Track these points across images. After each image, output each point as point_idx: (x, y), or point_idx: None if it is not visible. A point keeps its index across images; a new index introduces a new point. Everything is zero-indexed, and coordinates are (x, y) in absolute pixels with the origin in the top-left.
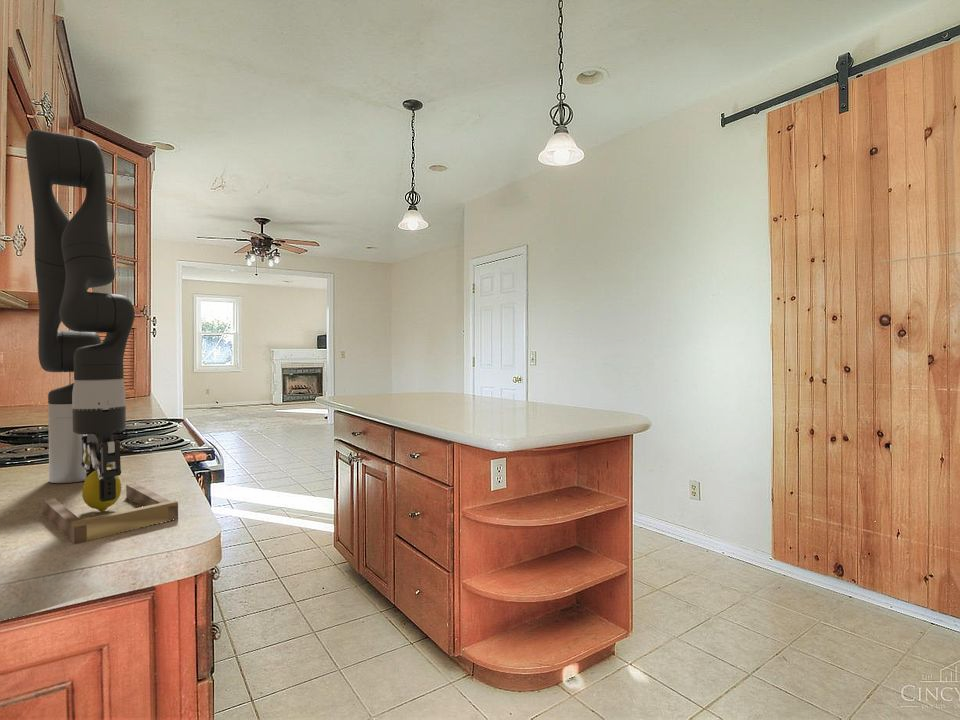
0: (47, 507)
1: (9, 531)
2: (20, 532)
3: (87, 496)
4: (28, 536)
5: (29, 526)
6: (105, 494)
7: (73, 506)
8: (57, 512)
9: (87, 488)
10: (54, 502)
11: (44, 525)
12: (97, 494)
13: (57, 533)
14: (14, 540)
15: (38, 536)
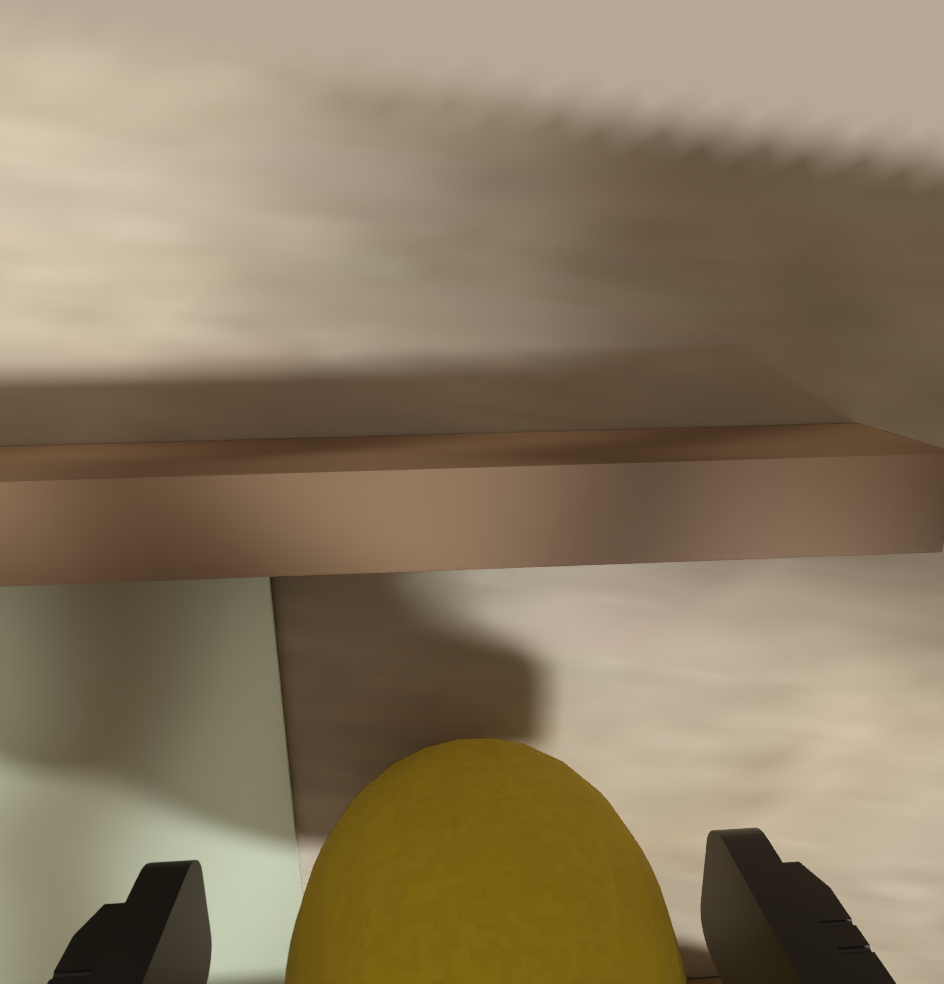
0: (666, 452)
1: (430, 98)
2: (307, 172)
3: (385, 804)
4: (96, 207)
5: (470, 267)
6: (68, 960)
7: (874, 649)
8: (141, 478)
9: (389, 884)
10: (676, 525)
11: (395, 371)
12: (310, 892)
13: (12, 412)
14: (40, 87)
15: (28, 274)
